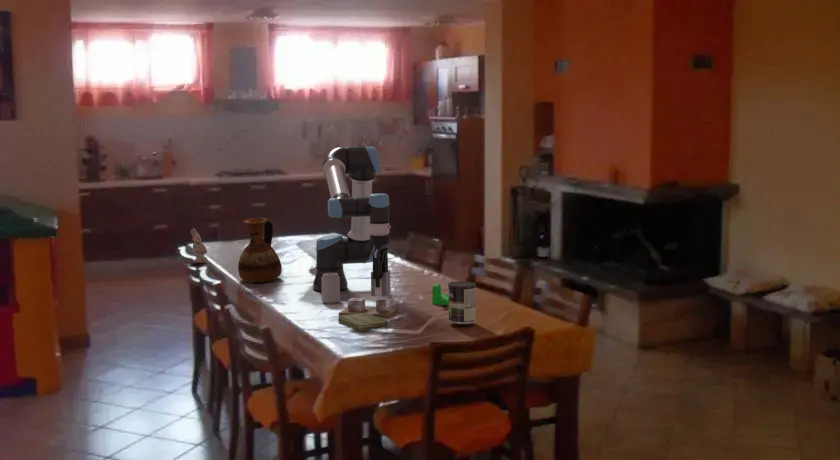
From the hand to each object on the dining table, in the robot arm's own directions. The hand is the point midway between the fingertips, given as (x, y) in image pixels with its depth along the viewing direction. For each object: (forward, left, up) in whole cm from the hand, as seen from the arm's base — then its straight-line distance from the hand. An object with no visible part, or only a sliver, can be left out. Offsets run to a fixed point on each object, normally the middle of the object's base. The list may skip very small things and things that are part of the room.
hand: (380, 293), depth 361 cm
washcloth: (-2, -17, -9) cm, 20 cm away
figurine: (-124, +95, -8) cm, 156 cm away
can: (-27, +19, -8) cm, 34 cm away
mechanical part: (+19, +28, -8) cm, 35 cm away
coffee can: (+33, -6, -8) cm, 35 cm away
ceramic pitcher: (-76, +60, -8) cm, 97 cm away
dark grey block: (0, 0, 0) cm, 0 cm away
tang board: (-5, 0, -8) cm, 10 cm away
